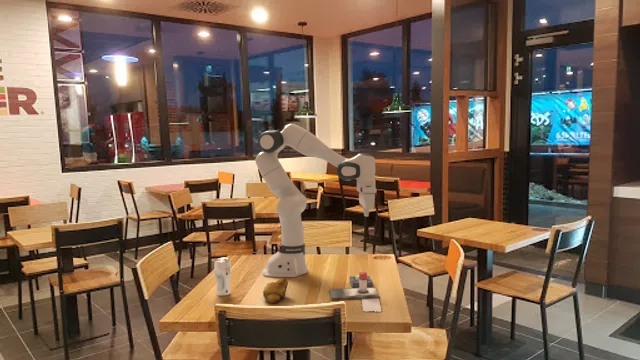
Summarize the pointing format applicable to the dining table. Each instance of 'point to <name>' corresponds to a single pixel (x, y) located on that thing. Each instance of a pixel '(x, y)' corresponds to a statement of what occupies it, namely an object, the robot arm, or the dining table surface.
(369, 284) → the button base
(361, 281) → the marker
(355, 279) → the button
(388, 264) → the dining table surface
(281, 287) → the bread roll
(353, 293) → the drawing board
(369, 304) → the smartphone
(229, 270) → the beer glass
